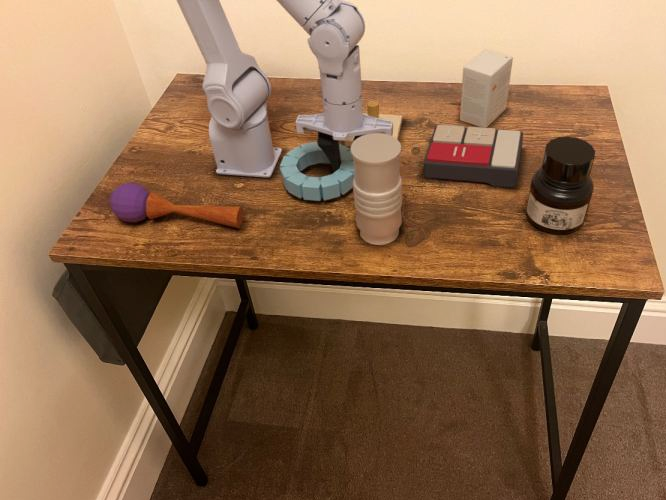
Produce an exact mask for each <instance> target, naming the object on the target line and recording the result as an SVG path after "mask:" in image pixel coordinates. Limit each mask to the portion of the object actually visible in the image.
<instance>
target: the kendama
mask: <svg viewBox="0 0 666 500" xmlns="http://www.w3.org/2000/svg"><path fill="white" fill-rule="evenodd" d="M109 206H110V208H111V211H112V212H113V214H114V215H115V216H116V217H117V218H118V219H119V220H122V221H123V222H129V223H138V222H141V221H143V220H145V219H146V218H148V220H154V219H157V218H160V217H164V216H166V215H170V214H172V213H173V214H174V213H177V214H181V215H184V216H188V217H192V218H195V219H200V220H204V221H209V222H212V223H215V224H220V225H222V226H223V225H224V226H227V227H230V228H231V227H232V228H236V229H240V228H241V227H242V225H243V222H244V216H245V215H244V214H245V213H244V208H243V206H231V205H230V206H229V205H196V204H195V205H192V204H191V205H190V204H189V205H188V204H175V203H172V202H171V201H170V200H168V199H167V198H165V197H164V196H162V195H160V194H159V193H158V192H155V191H151V192H149V191H148V189H147V188H146V187H144V186H143V185H141V184H139V183H134V182H126V183H122V184H120V185H118V186H117V187H115V189H113V191H112V192H111V194H110V200H109Z"/></svg>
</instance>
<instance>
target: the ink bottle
mask: <svg viewBox="0 0 666 500" xmlns="http://www.w3.org/2000/svg"><path fill="white" fill-rule="evenodd" d="M595 158H596V150H595V148H594V146H593V145H592V144H590V143H589V142H588V141H587V140H584V139H581V138H579V137H575V136H574V137H573V136H558V137H557V136H556V137H555V138H552V139H551V140H549V141H548V142H547V143H546V144H545V149H544V153H543V159H542V164H541V167H539V168H538V169H537V170H536V171H535V172H534V174H533V176H532V178H531V181H530V182H531V183H530V187H529V191H528V192H529V193H528V196H527V202H526V209H525V214H526V217H527V220H528V221H529V223H530V224H531V225H532V226H534V227H535V228H537V229H539V230H541V231H544V232H546V233H550V234H556V235H557V234H558V235H566V234H570V233H574V232H576V231H578V230H579V229H580V228H581V227H582V226H583V224H584V223H585V221H586V218H587V215H588V211H589V207H590V204H591V200H592V196H593V193H594V186H595V185H594V181H593V179H592V177H591V176H590V175H591V173H592V169H593V165H594V161H595Z"/></svg>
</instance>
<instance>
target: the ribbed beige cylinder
mask: <svg viewBox="0 0 666 500" xmlns="http://www.w3.org/2000/svg"><path fill="white" fill-rule="evenodd" d="M350 151H351V155H352V156H353V162H354V175H355V177H354V179H353V188H352V191H353V199H354V200H353V201H354V202H353V203H354V208H355V209H356V213H355V215H356V216H355V217H356V218H355V223H356V226H357V228H358V230H359V234H360V237H361V239H362V240H363V241H365V242H366V243H368V244H370V245H376V246H382V245H387V244H390V243H392V242H394V241H395V240H396V239H397V238H398V236H399V235H400V227H401V225H402V223H403V218H402V217H403V216H402V210H401V209H402V205H403V179H402V176H401V175H400V155H401V153H402V144H401V142H400V140H399V139H398V140H397V139H396V138H395V137H393V136H390V135H388V134H383V133H372V134H367V135H363V136H361V137H359V138H357V139H356V140H355V141H354V142H353V143H352V145H351V147H350Z"/></svg>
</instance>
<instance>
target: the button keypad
mask: <svg viewBox="0 0 666 500" xmlns="http://www.w3.org/2000/svg"><path fill="white" fill-rule="evenodd" d="M523 141H524V132H523V131H520V130H509V129H496V128H493V127H487V128H481V127H478V126H468V127H465V126H464V125H451V124H450V125H447V124H438V125H436V126H435V127H434V129H433V132H432V135H431V138H430V141H429V143H428V147H427V151H426V152H425V153H426V154H425V157H424V159H423V176H424V177H425V178H426V179H427V178H428V179H438V180H451V181H452V180H453V181H461V182H462V181H463V182H475V183H485V184H489V185H490V186H492V187H500V188H511V189H515V188H516V187H517V183H518V176H519V169H520V164H521V156H522V151H523Z"/></svg>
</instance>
